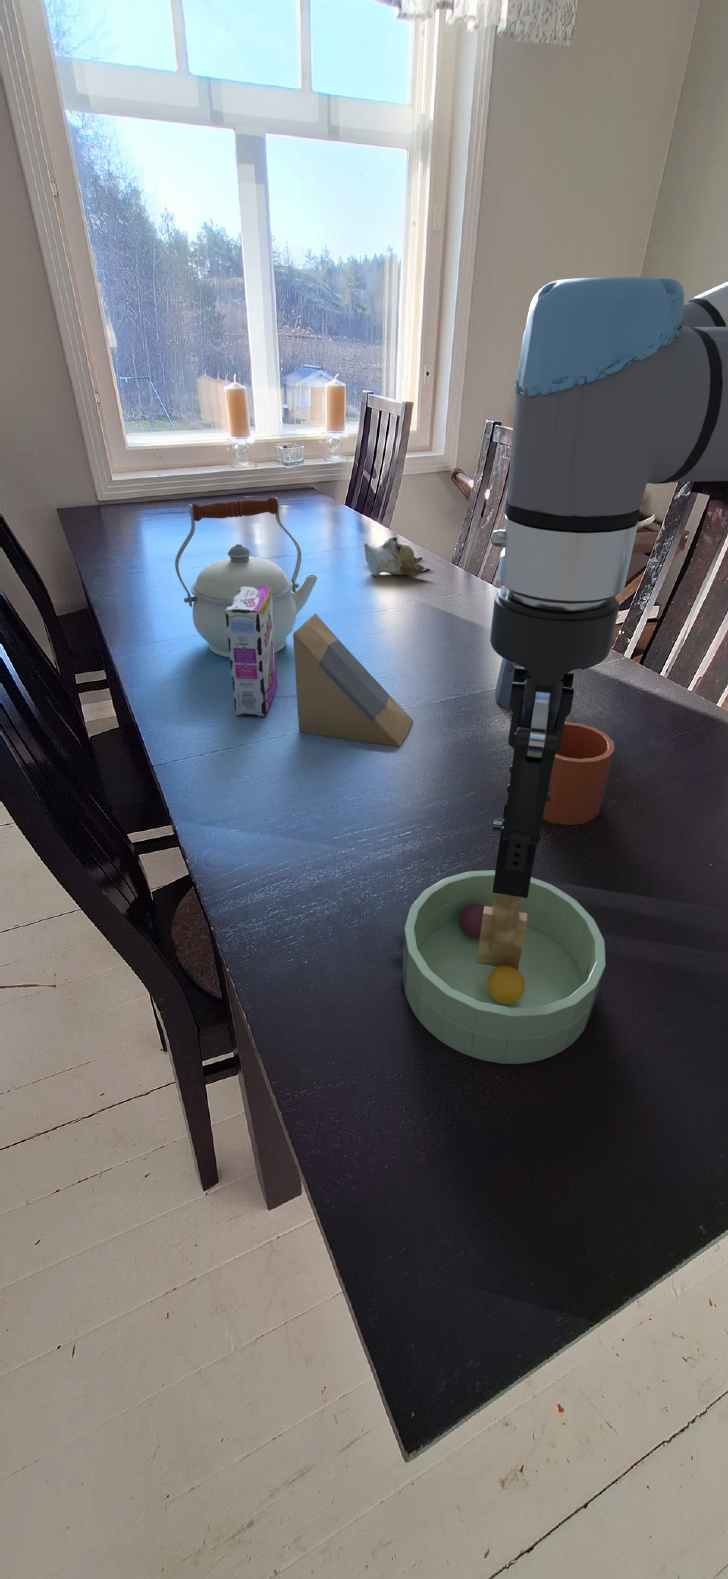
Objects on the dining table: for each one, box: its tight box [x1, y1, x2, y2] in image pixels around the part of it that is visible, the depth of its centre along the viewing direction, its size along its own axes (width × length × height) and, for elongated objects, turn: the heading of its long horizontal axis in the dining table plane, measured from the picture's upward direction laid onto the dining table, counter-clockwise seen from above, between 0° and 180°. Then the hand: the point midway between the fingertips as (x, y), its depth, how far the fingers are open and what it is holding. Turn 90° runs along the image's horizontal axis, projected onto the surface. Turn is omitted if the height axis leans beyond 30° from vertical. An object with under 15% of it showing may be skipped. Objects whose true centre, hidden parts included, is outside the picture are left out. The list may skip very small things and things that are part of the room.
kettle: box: [174, 496, 319, 659], centre depth 121 cm, size 25×18×25 cm
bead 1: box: [458, 904, 484, 939], centre depth 65 cm, size 3×3×3 cm
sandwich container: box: [292, 613, 414, 747], centre depth 97 cm, size 9×15×15 cm, turn 73°
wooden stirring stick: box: [477, 893, 528, 970], centre depth 55 cm, size 4×2×21 cm, turn 76°
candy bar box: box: [225, 587, 278, 718], centre depth 103 cm, size 11×5×16 cm, turn 177°
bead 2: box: [487, 966, 525, 1005], centre depth 59 cm, size 3×3×3 cm
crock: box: [542, 721, 615, 826], centre depth 81 cm, size 9×9×10 cm
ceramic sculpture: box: [363, 536, 431, 577], centre depth 161 cm, size 11×9×15 cm
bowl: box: [401, 869, 607, 1065], centre depth 60 cm, size 17×17×6 cm
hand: (511, 879), depth 56 cm, fingers closed on wooden stirring stick, 2 cm apart
